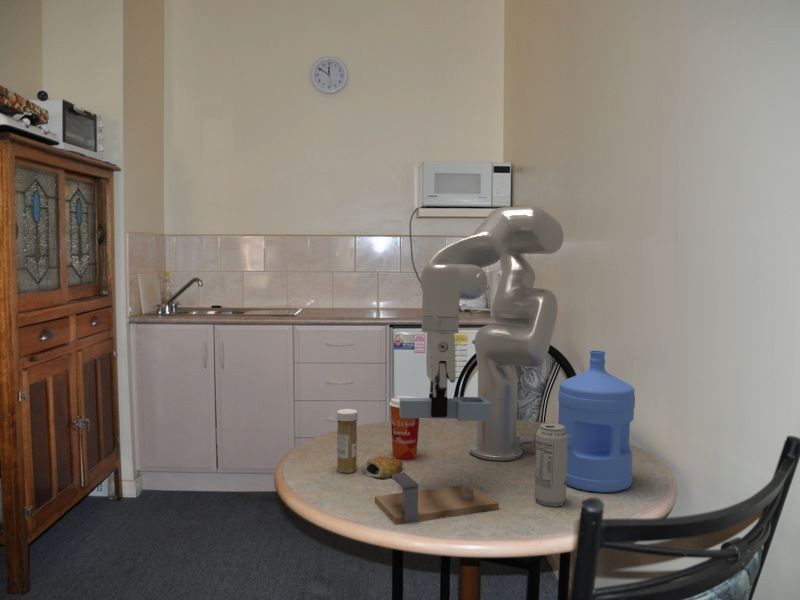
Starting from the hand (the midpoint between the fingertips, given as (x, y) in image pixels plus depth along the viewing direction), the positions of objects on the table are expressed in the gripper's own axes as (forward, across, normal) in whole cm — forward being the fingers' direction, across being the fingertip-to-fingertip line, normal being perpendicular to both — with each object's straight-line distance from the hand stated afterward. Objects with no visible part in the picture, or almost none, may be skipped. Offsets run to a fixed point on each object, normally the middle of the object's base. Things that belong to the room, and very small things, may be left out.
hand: (437, 413), depth 130 cm
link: (+1, 0, -1) cm, 1 cm away
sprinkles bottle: (+16, +12, +18) cm, 27 cm away
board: (+16, -9, +1) cm, 18 cm away
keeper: (+16, -13, +8) cm, 22 cm away
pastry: (+16, +10, +10) cm, 22 cm away
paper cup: (+16, +22, +5) cm, 27 cm away
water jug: (+15, +4, -35) cm, 38 cm away
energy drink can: (+16, -8, -22) cm, 28 cm away
